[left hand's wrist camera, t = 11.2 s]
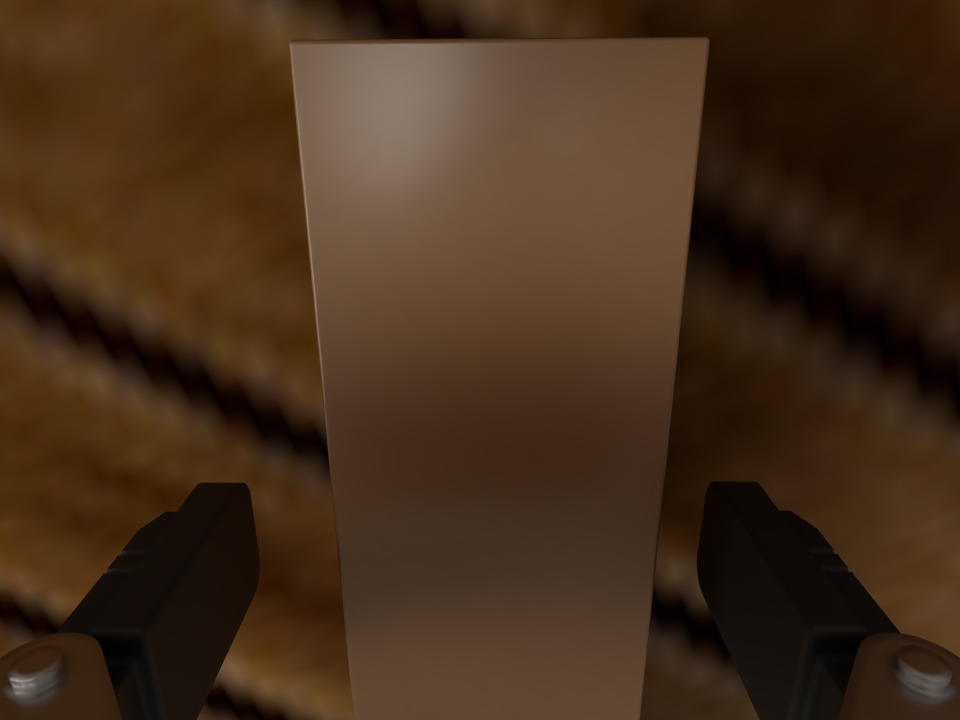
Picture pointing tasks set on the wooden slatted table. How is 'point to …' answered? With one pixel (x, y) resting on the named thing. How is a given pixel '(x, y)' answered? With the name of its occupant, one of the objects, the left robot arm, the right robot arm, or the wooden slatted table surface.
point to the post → (498, 357)
